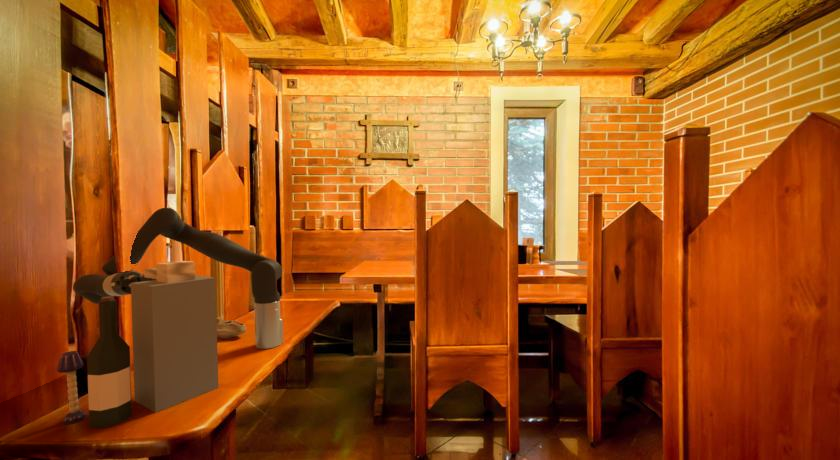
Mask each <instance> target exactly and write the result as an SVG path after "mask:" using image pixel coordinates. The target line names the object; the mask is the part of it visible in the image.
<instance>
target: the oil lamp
mask: <svg viewBox="0 0 840 460" xmlns="http://www.w3.org/2000/svg"><path fill="white" fill-rule="evenodd" d="M247 330H248V329H247V326H246V324H245V323H242V322H239V321H237V320H229V319H227V320H224V319H222V317H220V316H219V317H217V338H219V339H232V338H235V337H236V336H240V335H243V334H245V332H246V331H247Z"/></svg>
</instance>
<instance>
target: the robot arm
mask: <svg viewBox="0 0 840 460" xmlns="http://www.w3.org/2000/svg"><path fill="white" fill-rule="evenodd" d="M140 227H141V228H139V230H138V231H137V232H138V233H137V232H136V233H137V235H136V238H135V240H134V243H133V245H132V250H131V256H130V260H131V261H130V262H131V264H136V263H137V264H138V263H139V262H140V261H141V260H142V258H143V257H144V255H145V253H146V252H147V249H149V246H150V245H151V244H152V243H153V242H154V241H155V239H156V238H157V237H158V236H162V237H164V238H167V239H170V240H172V241H175V242H177V243H178V242H179V243H181V244H184V245H186V246H188V247H189V248H191V249H193V250H195V251H197V252H198V253H200V254H202V255H205V257H208V258H210V259H212V260H214V261H217V262H219V263H222V264H226V265H229V266H232V267H233V266H234V267H239V268H242V269H244V270H246V271H249V272H251V273H250V281H251V282H250V283H251V293H252V297H253V301H254V332H255V333H254V336H255V337H254V338H255V340H254V341H255V348H257V349H259V350H264V349H267V350H268V349H271V348H272V349H273V348H275V347H276V348H277V347H278V346H280V345H281V344H283V343H284V324H283V323H284V322H283V321H284V320H283V318H281V294H280V292H278V289H277V280H279V279H280V278H281V276H282V274H283V268H282V266H281V264H280V263H279V262H278V261H276V260H275V259H272V258H269V257H267V256H264V255H260V254H257V252H253V251H251V250H249V249H248V248H245V247H244V246H242V245H240V244H239V243H236V242H235V241H234V240H233V241H232V240H231V239H230V238H227V237H225V236H222V235H221V234H218V233H215V232H211V231H204V230H199V229H197V228H196V227H194V226H192V225H190V224H188V223H186V222H185V221H184V220H183V219H182V218H181V216H180V215H179V214H178V212H177V211H176V210H175V209H174V208H171V207H161V208H159V209H157V210H156V211H154V212H153V213H152V214H151V215H150V216H149V217H148V219H147V220H146V221H145V223H144V224H143V225H142V226H140ZM137 264H136V265H137ZM101 270H102V272H103V273H104V274H97V273H92V274H91V273H90V274H85V275H83V276H81V277H78V279H76V280H75V281H74V283H73V284H72V290H73V291H74V293H75V294H77V295H79V296H81V297H82V298H84V299H85V300H87V301H89V302H91V303H93V304H96V305H99V301H101V298H102V297H109V296H114V297H122V296H123V297H124V296H128V295H131V283H135V282H143V281H151V280H157V279H152V278H145V273H141V272H139V271H137V270H133V269H131V270H130V271H125V272H120V273H117V269H116V264H115V256H114V255H113V256H112V257H111V258H110V259H108V261H106V262H105V263H104V264H103V265H102V266H101Z"/></svg>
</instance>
